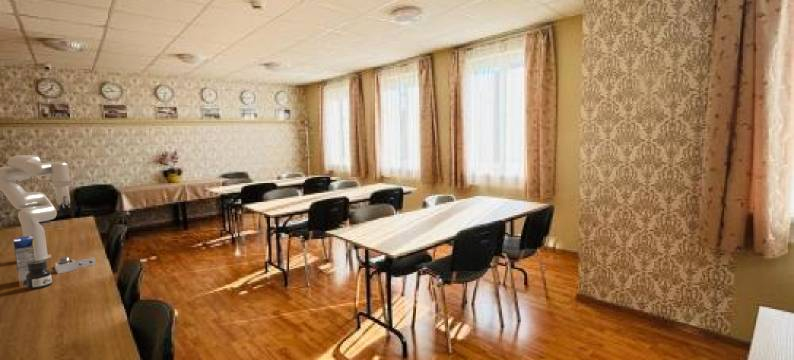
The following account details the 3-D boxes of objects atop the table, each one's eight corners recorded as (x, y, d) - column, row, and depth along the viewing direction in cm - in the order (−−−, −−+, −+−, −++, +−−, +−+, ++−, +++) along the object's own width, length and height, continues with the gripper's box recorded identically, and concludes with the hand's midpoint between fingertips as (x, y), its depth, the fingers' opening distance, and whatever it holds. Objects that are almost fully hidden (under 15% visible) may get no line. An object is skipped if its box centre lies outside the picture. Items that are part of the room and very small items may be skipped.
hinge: (52, 267, 219) (51, 259, 219) (90, 260, 232) (89, 252, 231) (58, 273, 208) (57, 265, 207) (97, 265, 220) (96, 257, 220)
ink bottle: (36, 290, 184) (32, 265, 183) (21, 289, 186) (17, 265, 185) (57, 283, 194) (54, 259, 192) (43, 282, 195) (40, 258, 194)
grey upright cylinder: (60, 270, 213) (59, 258, 212) (70, 268, 216) (68, 256, 215) (62, 272, 211) (60, 259, 210) (71, 270, 214) (70, 257, 213)
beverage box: (19, 286, 191) (13, 241, 189) (19, 280, 199) (13, 238, 197) (38, 282, 196) (33, 238, 193) (37, 277, 204) (32, 235, 201)
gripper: (50, 184, 227) (54, 213, 229) (55, 185, 216) (59, 216, 218) (67, 182, 233) (70, 211, 235) (73, 184, 221) (77, 214, 223)
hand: (65, 213), depth 226 cm, fingers open, 9 cm apart
